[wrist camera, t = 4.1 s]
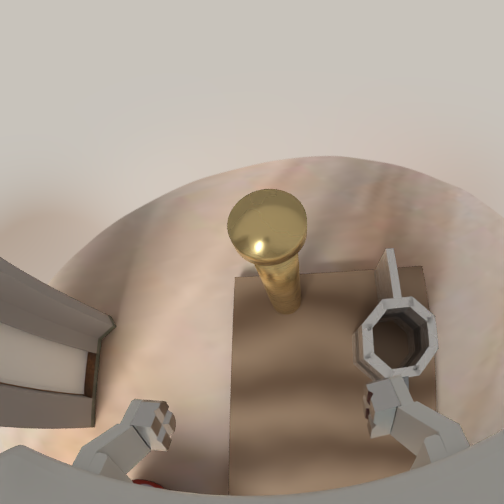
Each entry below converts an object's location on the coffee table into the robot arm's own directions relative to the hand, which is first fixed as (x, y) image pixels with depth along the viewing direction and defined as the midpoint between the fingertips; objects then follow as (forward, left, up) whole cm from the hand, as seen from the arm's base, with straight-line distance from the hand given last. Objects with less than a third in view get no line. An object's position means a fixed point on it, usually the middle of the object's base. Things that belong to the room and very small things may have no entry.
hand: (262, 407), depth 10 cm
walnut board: (0, -5, -16) cm, 16 cm away
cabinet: (-3, +25, -16) cm, 30 cm away
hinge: (+4, -9, -14) cm, 17 cm away
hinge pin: (+9, 0, -14) cm, 17 cm away
